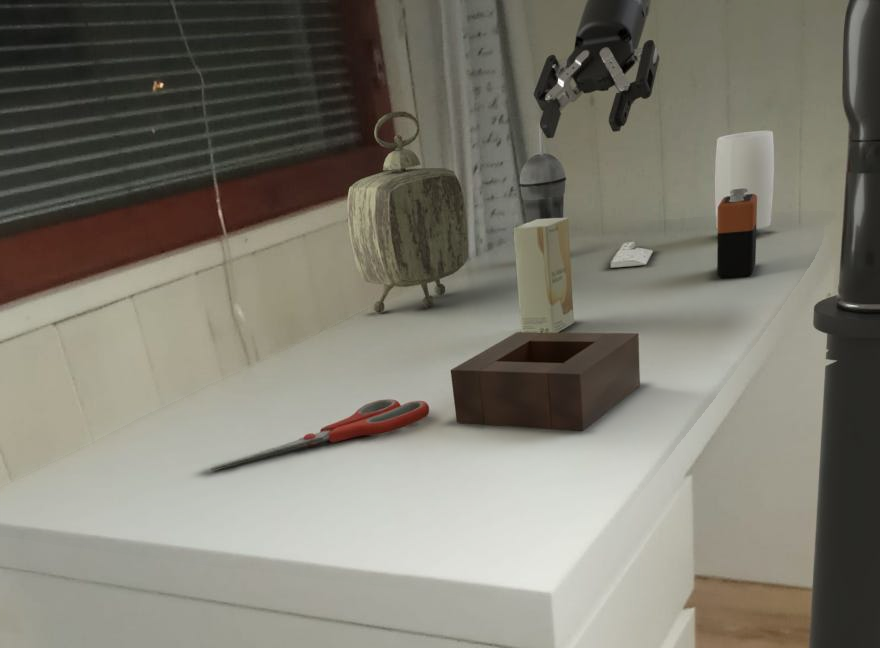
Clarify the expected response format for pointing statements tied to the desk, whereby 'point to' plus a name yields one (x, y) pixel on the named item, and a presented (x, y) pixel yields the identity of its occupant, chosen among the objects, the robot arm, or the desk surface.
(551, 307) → the cosmetic box
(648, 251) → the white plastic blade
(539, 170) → the beverage cup
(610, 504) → the desk surface
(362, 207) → the tabletop clock
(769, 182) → the cup
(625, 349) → the holder
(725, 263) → the battery
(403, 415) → the scissors
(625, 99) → the robot arm
